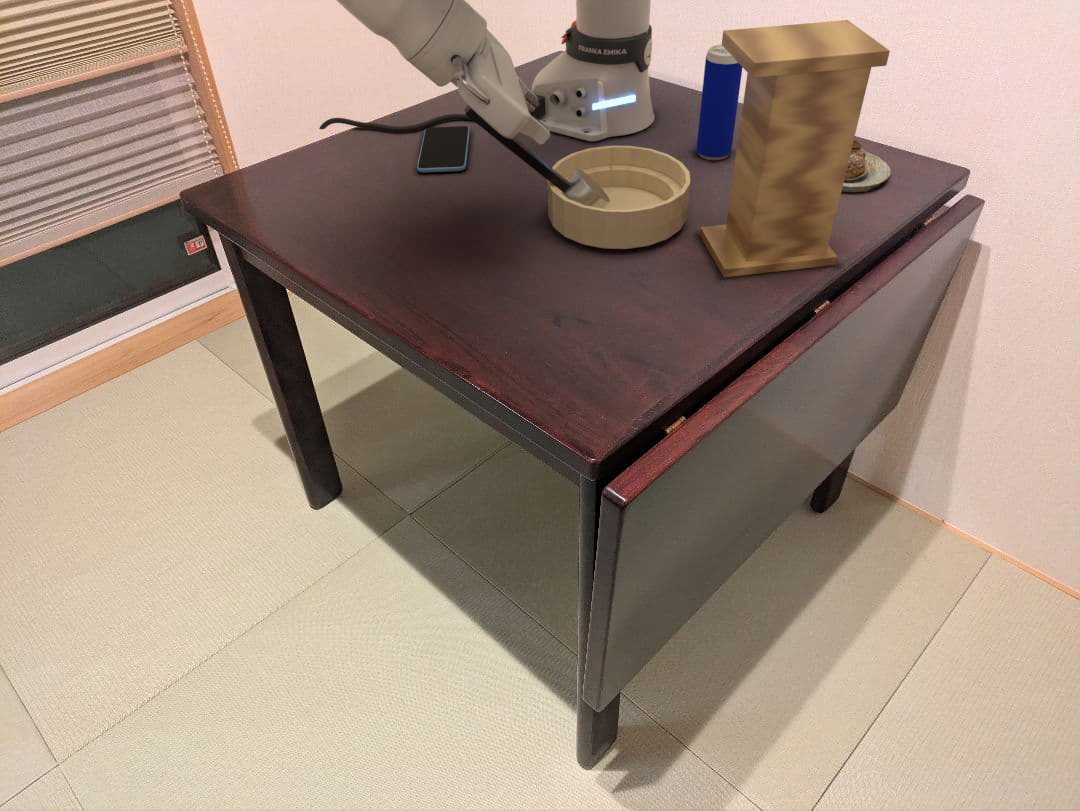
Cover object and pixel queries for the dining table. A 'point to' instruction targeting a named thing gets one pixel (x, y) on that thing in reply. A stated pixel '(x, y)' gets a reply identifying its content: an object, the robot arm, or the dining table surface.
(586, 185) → the black handled spatula
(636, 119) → the robot arm
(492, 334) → the dining table surface
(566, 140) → the dining table surface
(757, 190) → the wooden column stand
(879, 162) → the pastry
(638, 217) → the bowl
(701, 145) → the beverage can
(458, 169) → the smartphone
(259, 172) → the dining table surface
